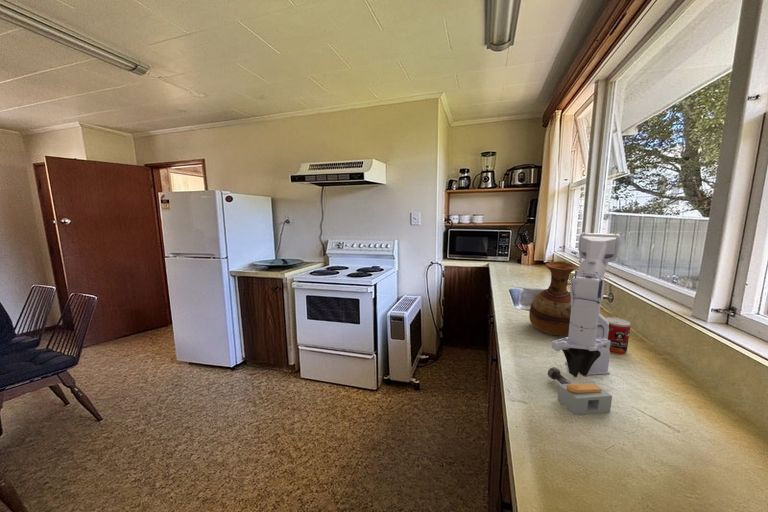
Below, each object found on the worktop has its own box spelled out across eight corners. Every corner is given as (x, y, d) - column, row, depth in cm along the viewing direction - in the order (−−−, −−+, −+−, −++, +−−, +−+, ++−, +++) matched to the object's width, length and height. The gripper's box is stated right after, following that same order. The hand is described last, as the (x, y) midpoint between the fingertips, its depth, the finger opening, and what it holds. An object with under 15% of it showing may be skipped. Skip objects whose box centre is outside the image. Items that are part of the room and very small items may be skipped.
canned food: (604, 352, 106) (608, 323, 104) (598, 343, 113) (601, 316, 112) (630, 356, 103) (634, 326, 102) (622, 346, 111) (626, 318, 109)
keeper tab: (593, 386, 78) (593, 383, 78) (601, 391, 75) (601, 389, 75) (564, 386, 77) (564, 384, 77) (571, 392, 74) (572, 390, 74)
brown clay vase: (524, 332, 123) (530, 262, 119) (532, 318, 140) (537, 256, 135) (580, 344, 112) (588, 268, 108) (581, 327, 129) (588, 260, 124)
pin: (547, 378, 88) (548, 367, 88) (557, 377, 89) (558, 367, 88) (574, 401, 78) (575, 389, 77) (586, 400, 78) (587, 388, 78)
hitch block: (591, 397, 80) (593, 382, 80) (610, 412, 75) (612, 395, 74) (557, 399, 79) (558, 384, 79) (573, 415, 74) (575, 398, 73)
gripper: (568, 332, 69) (562, 385, 71) (624, 329, 70) (617, 381, 72) (548, 321, 75) (543, 369, 78) (599, 318, 77) (593, 366, 79)
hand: (577, 374), depth 75 cm, fingers closed
